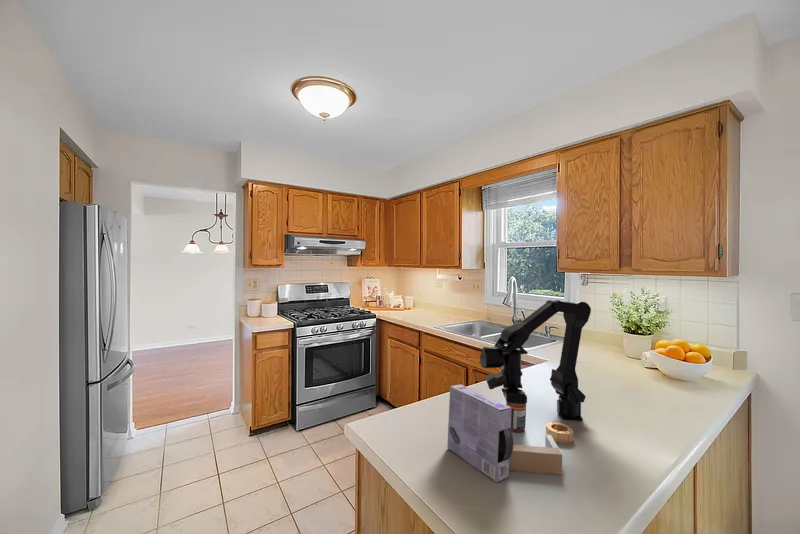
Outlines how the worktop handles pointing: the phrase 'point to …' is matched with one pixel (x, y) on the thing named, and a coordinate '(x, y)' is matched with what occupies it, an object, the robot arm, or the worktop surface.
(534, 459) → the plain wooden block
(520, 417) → the supplement bottle
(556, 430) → the wooden octagonal ring
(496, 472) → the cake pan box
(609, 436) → the worktop surface
